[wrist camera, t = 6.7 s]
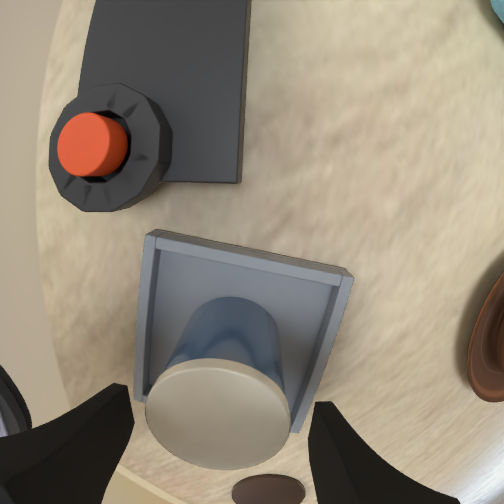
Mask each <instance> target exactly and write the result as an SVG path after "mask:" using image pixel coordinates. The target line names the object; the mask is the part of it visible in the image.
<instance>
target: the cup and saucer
mask: <svg viewBox="0 0 504 504" xmlns="http://www.w3.org/2000/svg"><path fill="white" fill-rule="evenodd" d="M467 371H468V377H469V381H470V384H471V386H472V388H473V390H474V392H475V393H476V395H477V396H478V397H479V398H480V399H482V400H484V401H487V402H502V401H504V272H503V274H502V275H501V276H500V278H499V279H498V280H497V282H496V283H495V285H494V286H493V288H492V290H491V291H490V293H489V295H488V297H487V298H486V300H485V302H484V304H483V306H482V309H481V311H480V313H479V316H478V318H477V321H476V324H475V326H474V329H473V333H472V336H471V340H470V344H469V350H468V358H467Z"/></svg>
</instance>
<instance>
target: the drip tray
mask: <svg viewBox="0 0 504 504" xmlns="http://www.w3.org/2000/svg"><path fill="white" fill-rule="evenodd" d="M353 281H354V277H353V276H352V275H351V274H350V273H349V272H348V271H347V269H345V268H341V267H336V266H331V265H326V264H322V263H317V262H312V261H307V260H302V259H298V258H293V257H288V256H283V255H279V254H274V253H269V252H264V251H259V250H255V249H250V248H245V247H240V246H235V245H231V244H226V243H221V242H216V241H211V240H207V239H202V238H197V237H192V236H187V235H182V234H178V233H173V232H168V231H163V230H158V229H156V230H154V231H152V232H150V233H148V234H146V235H145V241H144V249H143V258H142V266H141V276H140V286H139V297H138V309H137V322H136V339H135V360H134V400H137V401H140V402H143V403H146V399H147V396H148V394H149V392H150V390H151V388H152V386H153V384H154V383H155V381H156V380H157V379H158V377H159V376H160V375H161V374H162V372H163V370H164V368H165V366H166V364H167V362H168V360H169V358H170V356H171V354H172V352H173V350H174V348H175V346H176V344H177V342H178V340H179V338H180V336H181V334H182V332H183V330H184V328H185V326H186V324H187V322H188V320H189V319H190V317H191V315H192V314H193V313H194V311H195V310H196V309H198V308H199V307H200V306H201V305H203V304H204V303H206V302H208V301H210V300H213V299H216V298H221V297H239V298H244V299H247V300H250V301H252V302H255V303H256V304H258V305H260V306H261V307H263V308H264V309H265V310H266V311H267V312H268V313H269V314H270V315H271V316H272V317H273V319H274V321H275V322H276V324H277V327H278V330H279V333H280V342H281V352H282V362H283V373H284V383H285V394H286V399H287V401H288V405H289V408H290V417H291V430H290V432H291V433H299V432H300V430H301V427H302V425H303V423H304V420H305V418H306V415H307V413H308V411H309V408H310V406H311V403H312V401H313V398H314V395H315V393H316V390H317V388H318V385H319V382H320V380H321V377H322V374H323V372H324V369H325V366H326V364H327V361H328V358H329V355H330V352H331V349H332V347H333V344H334V341H335V338H336V335H337V332H338V329H339V326H340V323H341V320H342V317H343V313H344V310H345V307H346V304H347V301H348V297H349V294H350V291H351V287H352V284H353Z"/></svg>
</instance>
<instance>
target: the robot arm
mask: <svg viewBox="0 0 504 504" xmlns="http://www.w3.org/2000/svg"><path fill="white" fill-rule="evenodd" d="M134 424H135V422H134V417H133V412H132V407H131V402H130V397H129V392H128V387H127V385H122V384H117V383H113V384H111V385H109V386H108V387H106V388H105V389H103V390H102V391H100V392H99V393H97V394H96V395H94V396H93V397H91V398H90V399H88V400H87V401H85V402H84V403H82V404H80V405H79V406H77V407H76V408H74V409H72V410H70V411H69V412H67V413H65V414H63V415H62V416H60V417H58V418H56V419H54V420H52V421H50V422H48V423H45V424H43V425H40V426H38V427H35V428H33V429H29V430H26V431H23V432H20V433H17V434H13V435H9V434H8V431H7V429H6V426H5V423H4V420H3V417H2V414H1V411H0V504H101V502H102V499H103V496H104V493H105V490H106V488H107V486H108V483H109V481H110V479H111V477H112V475H113V473H114V471H115V469H116V467H117V465H118V463H119V461H120V459H121V457H122V455H123V453H124V451H125V449H126V447H127V445H128V442H129V439H130V436H131V433H132V430H133V427H134ZM308 449H309V461H310V466H311V471H312V476H313V481H314V486H315V491H316V496H317V501H318V504H460V502H459V500H458V499H457V498H454V497H451V496H448V495H445V494H442V493H440V492H437V491H434V490H432V489H430V488H428V487H426V486H424V485H422V484H420V483H418V482H416V481H414V480H412V479H411V478H409V477H408V476H406V475H404V474H403V473H401V472H400V471H398V470H397V469H395V468H394V467H393V466H391V465H390V464H389V463H387V462H386V461H385V460H384V459H382V458H381V457H380V456H379V455H378V454H377V453H376V452H375V451H374V450H372V449H371V448H370V447H369V446H368V445H367V444H366V443H365V441H364V440H363V439H362V438H361V437H360V436H359V435H358V434H357V433H356V431H355V430H354V429H353V428H352V427H351V426H350V424H349V423H348V422H347V421H346V419H345V418H344V417H343V415H342V414H341V413H340V412H339V410H338V409H337V407H336V406H335V405H334V404H333V402H332V401H326V402H315V407H314V412H313V417H312V422H311V427H310V431H309V436H308Z"/></svg>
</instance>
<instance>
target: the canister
mask: <svg viewBox="0 0 504 504" xmlns="http://www.w3.org/2000/svg"><path fill="white" fill-rule="evenodd" d="M145 416H146V421H147V424H148V426H149V429H150V431H151V432H152V434H153V436H154V437H155V438H156V439H157V441H158V442H159V443H160V444H161V445H162V446H163V447H164V448H165V449H167V450H168V451H169V452H170V453H172V454H173V455H175V456H177V457H178V458H180V459H182V460H184V461H186V462H189V463H191V464H194V465H197V466H200V467H204V468H209V469H216V470H237V469H244V468H249V467H252V466H256V465H258V464H261V463H263V462H265V461H267V460H268V459H270V458H272V457H273V456H274V455H276V454H277V453H278V452H279V451H280V450H281V449H282V447H283V446H284V445H285V443H286V441H287V439H288V437H289V434H290V430H291V417H290V408H289V405H288V401H287V399H286V394H285V383H284V373H283V362H282V352H281V342H280V333H279V330H278V327H277V324H276V322H275V321H274V319H273V317H272V316H271V315H270V314H269V313H268V312H267V311H266V310H265V309H264V308H263V307H261V306H260V305H258V304H256V303H255V302H252V301H250V300H247V299H244V298H239V297H221V298H216V299H213V300H210V301H208V302H206V303H204V304H203V305H201V306H200V307H199V308H198V309H196V310H195V311H194V313H193V314H192V315H191V317H190V319H189V320H188V322H187V324H186V326H185V328H184V330H183V332H182V334H181V336H180V338H179V340H178V342H177V344H176V346H175V348H174V350H173V352H172V354H171V356H170V358H169V360H168V362H167V364H166V366H165V368H164V370H163V372H162V374H161V375H160V376H159V377H158V379H157V380H156V381H155V383H154V384H153V386H152V388H151V390H150V392H149V394H148V396H147V399H146V403H145Z"/></svg>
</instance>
